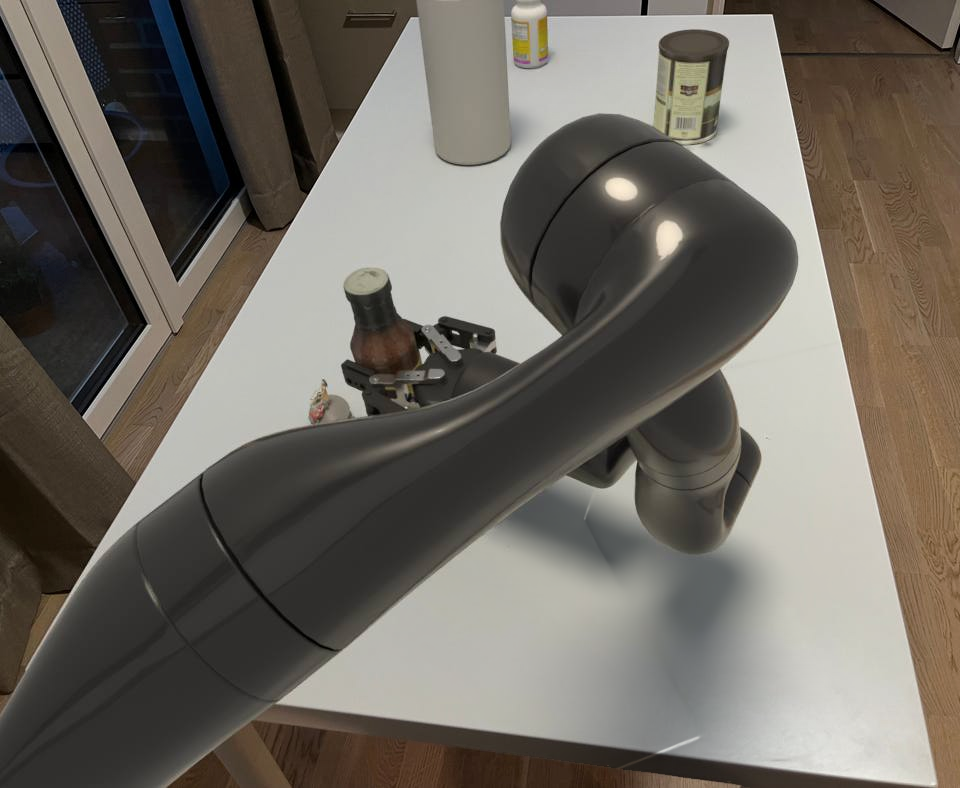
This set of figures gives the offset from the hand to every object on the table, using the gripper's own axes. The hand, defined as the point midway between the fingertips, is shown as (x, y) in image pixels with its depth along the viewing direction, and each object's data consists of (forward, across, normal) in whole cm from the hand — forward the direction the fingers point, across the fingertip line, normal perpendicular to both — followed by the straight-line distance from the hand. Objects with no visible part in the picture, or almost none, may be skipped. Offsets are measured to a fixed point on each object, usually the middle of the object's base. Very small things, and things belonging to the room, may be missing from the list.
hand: (368, 347), depth 76 cm
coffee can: (+1, -78, +14) cm, 79 cm away
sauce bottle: (-2, 0, +11) cm, 11 cm away
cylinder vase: (+29, -58, +14) cm, 66 cm away
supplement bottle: (+38, -91, +14) cm, 99 cm away
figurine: (+8, +1, +14) cm, 16 cm away
